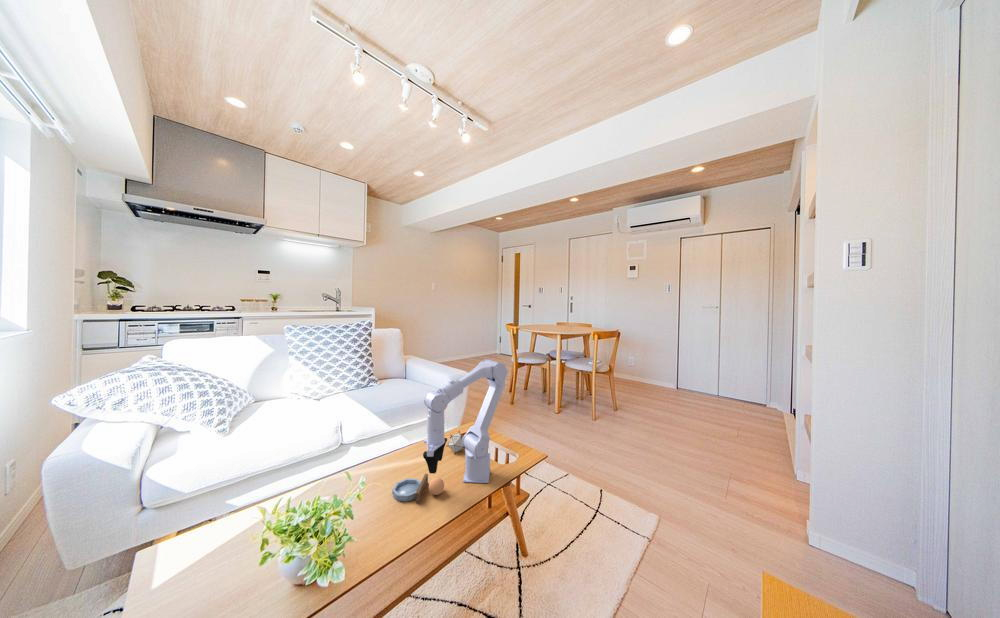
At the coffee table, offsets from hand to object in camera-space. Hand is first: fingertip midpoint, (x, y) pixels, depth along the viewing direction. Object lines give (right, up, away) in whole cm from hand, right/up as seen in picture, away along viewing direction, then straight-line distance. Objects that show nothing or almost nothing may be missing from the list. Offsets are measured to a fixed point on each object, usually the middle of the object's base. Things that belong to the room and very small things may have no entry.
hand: (435, 466), depth 104 cm
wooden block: (-5, -9, 0) cm, 11 cm away
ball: (0, -9, 0) cm, 9 cm away
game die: (+3, -9, +29) cm, 30 cm away
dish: (-10, -9, +1) cm, 14 cm away
